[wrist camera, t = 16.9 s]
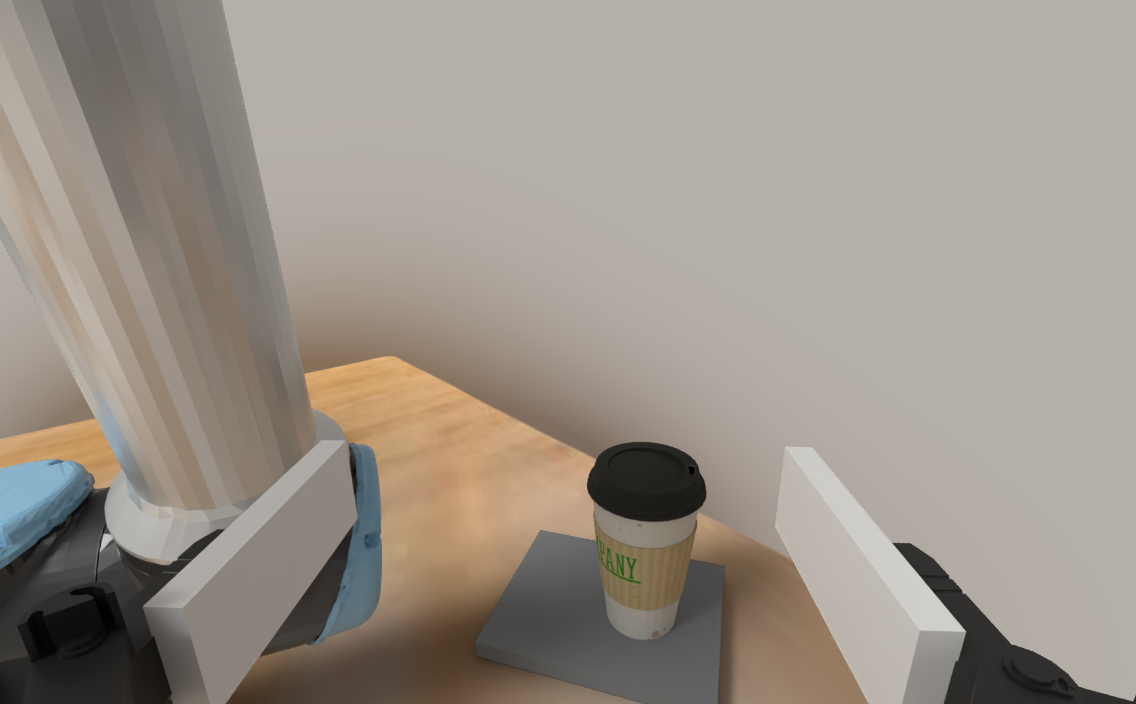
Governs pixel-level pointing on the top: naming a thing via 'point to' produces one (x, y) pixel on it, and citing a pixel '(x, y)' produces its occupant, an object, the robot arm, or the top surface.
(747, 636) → the top surface
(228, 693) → the robot arm
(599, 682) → the mat
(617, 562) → the coffee cup
